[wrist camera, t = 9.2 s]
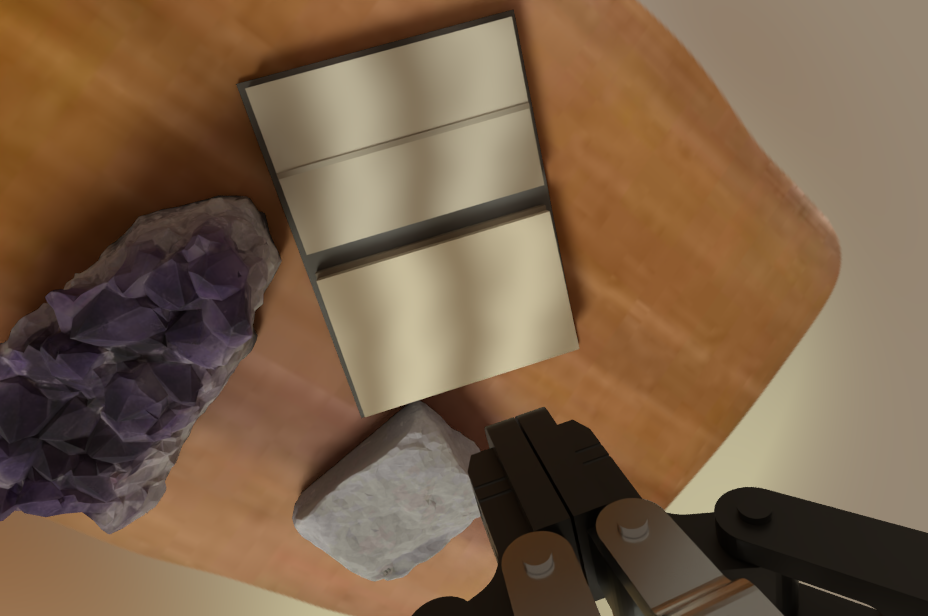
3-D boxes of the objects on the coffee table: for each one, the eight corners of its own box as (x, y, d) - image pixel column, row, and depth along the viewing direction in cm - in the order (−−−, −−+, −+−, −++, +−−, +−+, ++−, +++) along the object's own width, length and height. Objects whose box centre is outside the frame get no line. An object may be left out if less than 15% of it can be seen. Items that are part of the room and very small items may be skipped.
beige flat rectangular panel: (364, 408, 39) (365, 417, 38) (315, 271, 36) (314, 276, 35) (573, 342, 40) (579, 348, 39) (542, 203, 37) (548, 206, 36)
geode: (133, 118, 32) (95, 154, 23) (322, 238, 37) (348, 303, 29) (-61, 417, 35) (-160, 548, 26) (142, 486, 40) (116, 613, 32)
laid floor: (361, 415, 40) (362, 428, 39) (236, 83, 32) (232, 84, 30) (576, 346, 42) (585, 356, 40) (512, 9, 33) (520, 7, 32)
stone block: (497, 451, 46) (412, 383, 40) (520, 501, 42) (429, 433, 36) (378, 545, 48) (280, 492, 42) (390, 601, 44) (283, 551, 38)
